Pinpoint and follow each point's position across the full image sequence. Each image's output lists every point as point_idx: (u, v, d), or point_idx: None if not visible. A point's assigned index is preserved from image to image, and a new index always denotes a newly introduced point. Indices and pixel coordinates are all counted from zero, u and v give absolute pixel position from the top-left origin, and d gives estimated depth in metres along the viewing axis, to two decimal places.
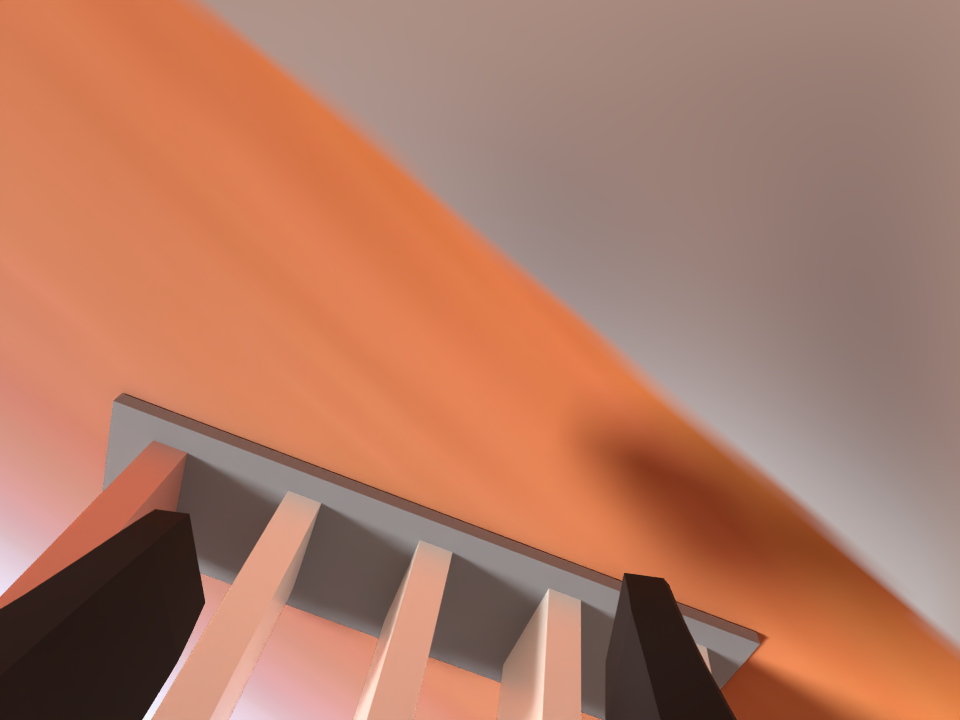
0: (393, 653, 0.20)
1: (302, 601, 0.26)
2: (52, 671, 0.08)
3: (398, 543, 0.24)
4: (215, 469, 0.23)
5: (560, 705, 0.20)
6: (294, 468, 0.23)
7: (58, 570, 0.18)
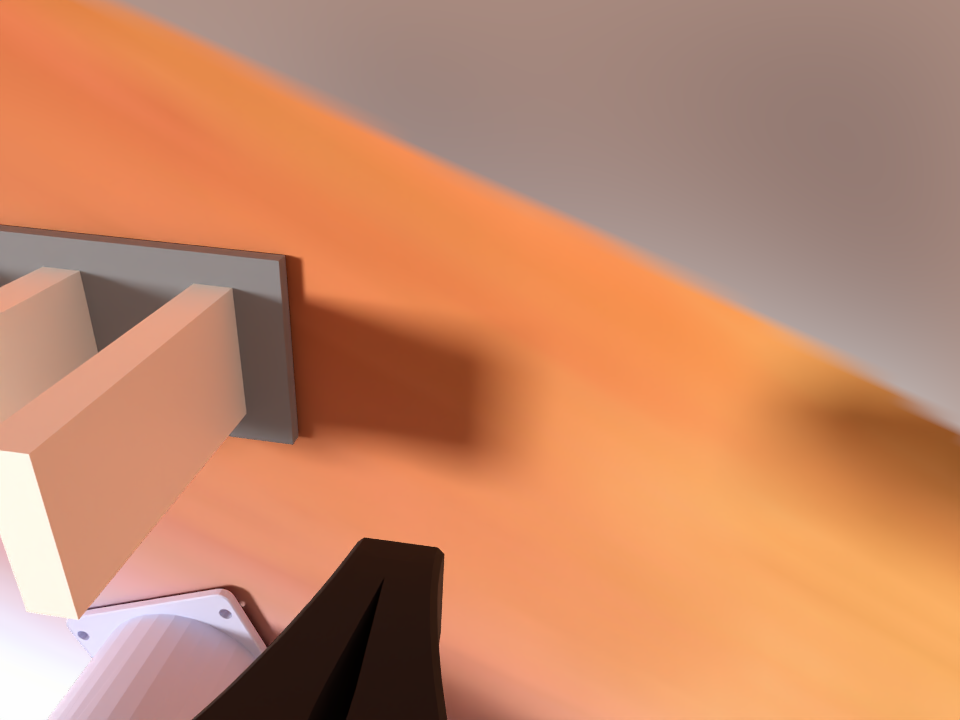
0: None
1: None
2: (327, 715, 0.08)
3: None
4: None
5: None
6: None
7: None
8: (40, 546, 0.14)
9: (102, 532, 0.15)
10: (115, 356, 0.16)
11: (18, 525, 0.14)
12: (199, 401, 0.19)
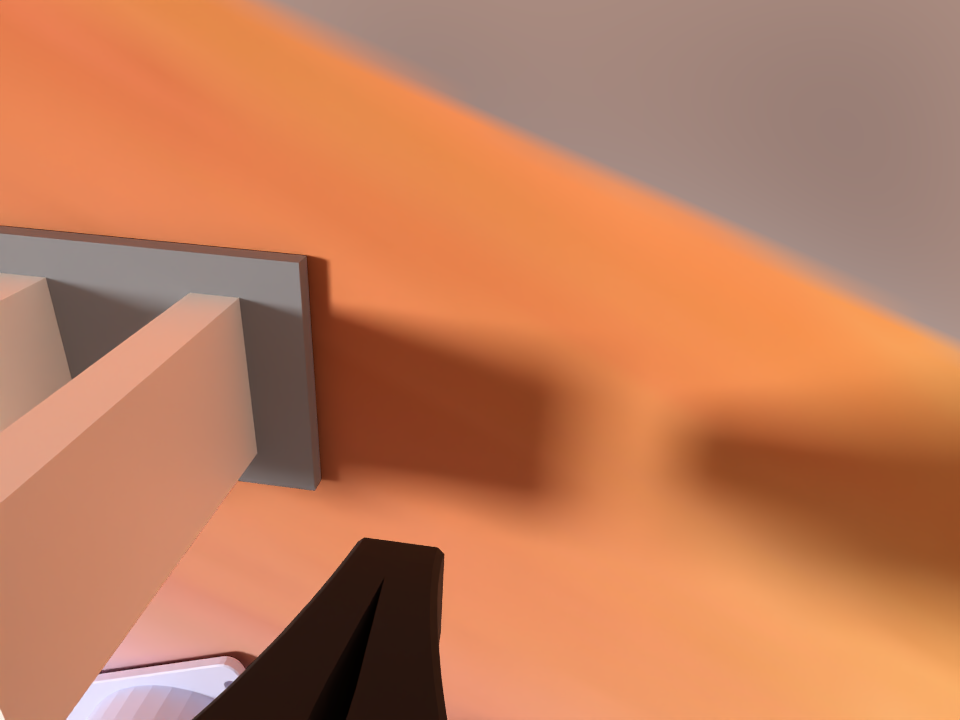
0: None
1: None
2: (327, 715, 0.08)
3: None
4: None
5: None
6: None
7: None
8: None
9: (62, 643, 0.11)
10: (82, 393, 0.12)
11: None
12: (197, 445, 0.15)
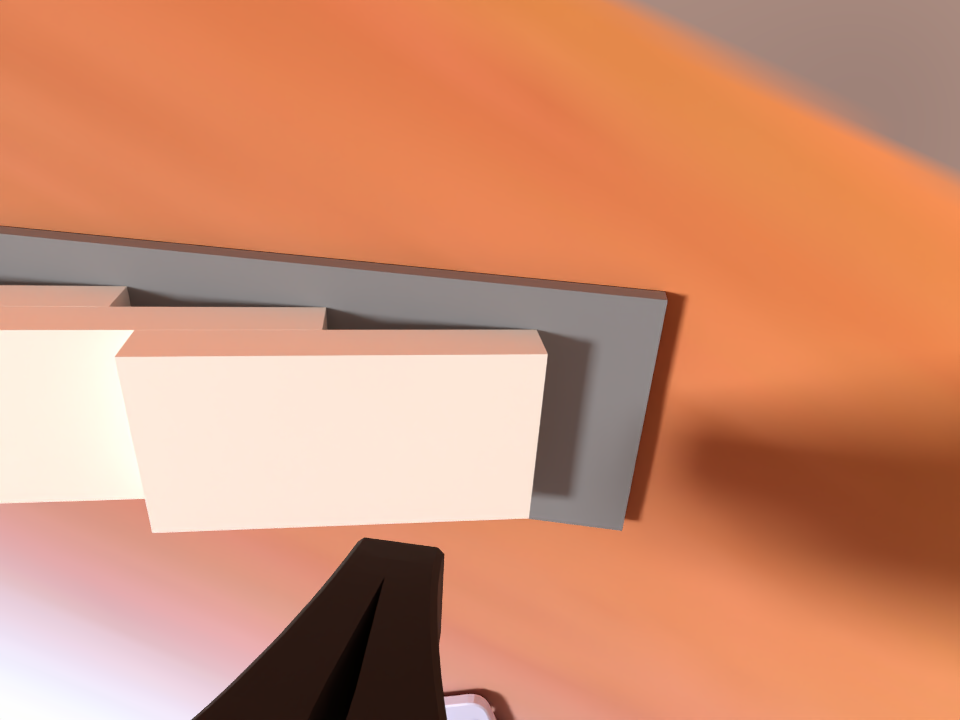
0: None
1: None
2: (327, 715, 0.08)
3: None
4: None
5: (118, 316, 0.15)
6: None
7: None
8: None
9: (204, 482, 0.15)
10: (324, 339, 0.14)
11: None
12: (420, 450, 0.15)
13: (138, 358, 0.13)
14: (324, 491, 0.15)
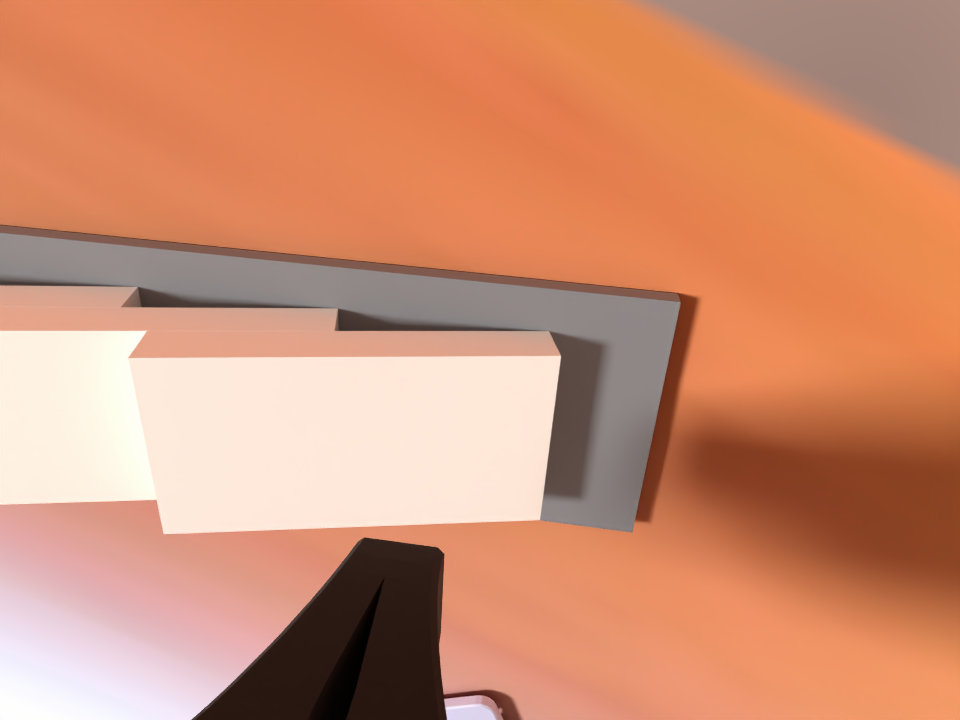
0: None
1: None
2: (328, 715, 0.08)
3: None
4: None
5: (130, 317, 0.15)
6: None
7: None
8: None
9: (216, 483, 0.15)
10: (336, 340, 0.14)
11: None
12: (432, 452, 0.15)
13: (152, 359, 0.13)
14: (336, 492, 0.15)
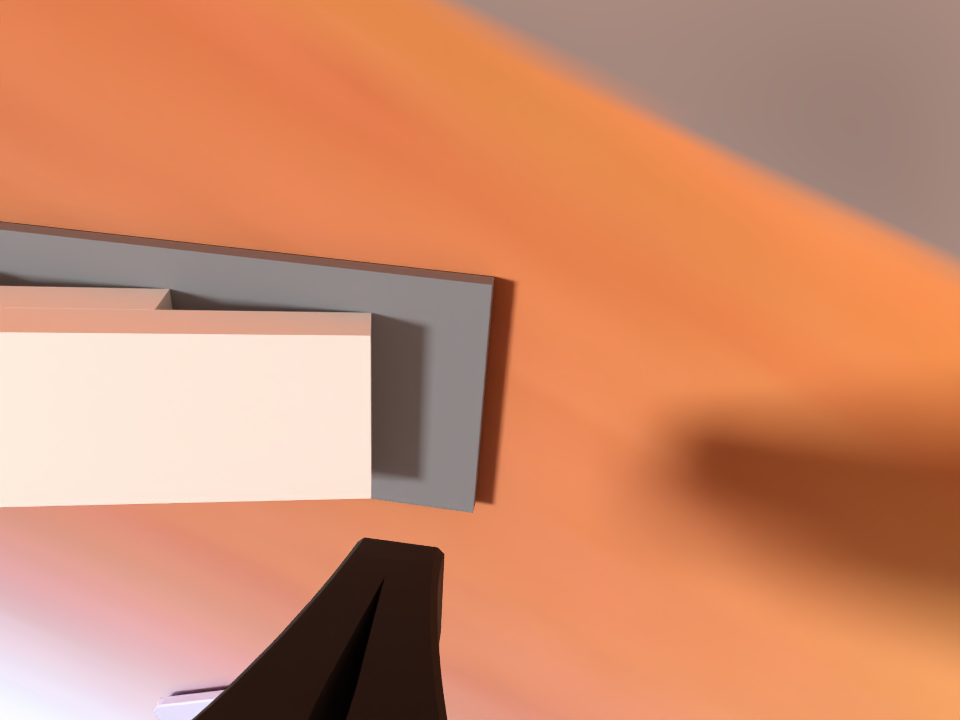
0: None
1: None
2: (327, 715, 0.08)
3: None
4: None
5: None
6: None
7: None
8: None
9: (38, 457, 0.15)
10: (152, 318, 0.15)
11: None
12: (253, 429, 0.15)
13: None
14: (160, 468, 0.16)
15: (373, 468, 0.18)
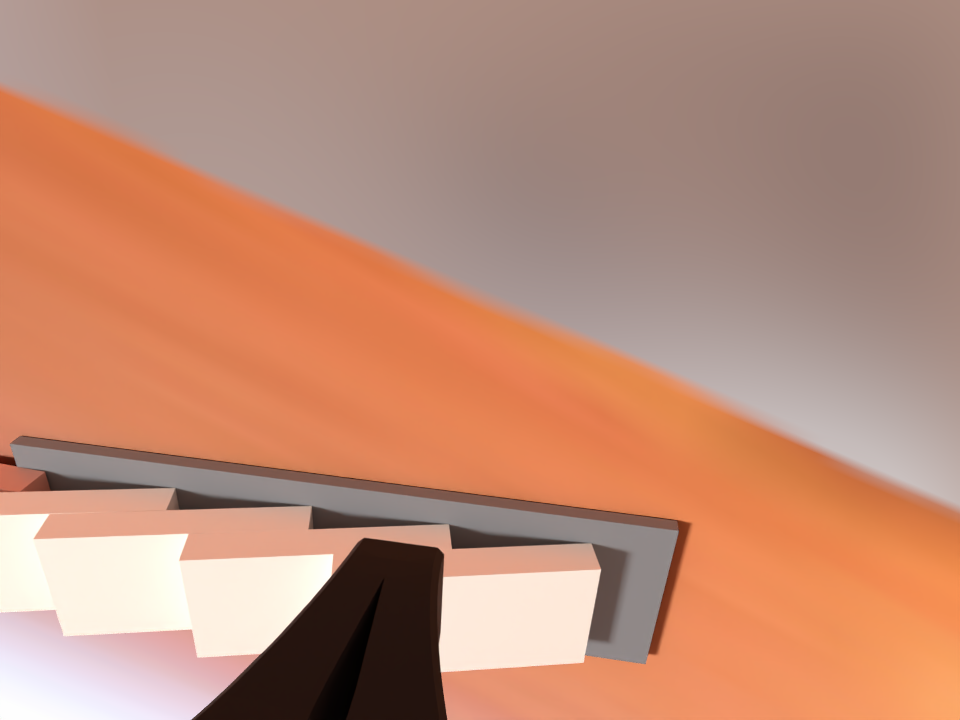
0: (170, 513, 0.23)
1: None
2: (328, 715, 0.08)
3: None
4: (115, 484, 0.25)
5: (318, 540, 0.22)
6: (178, 465, 0.24)
7: None
8: None
9: None
10: (455, 559, 0.22)
11: None
12: (514, 626, 0.23)
13: None
14: (450, 651, 0.23)
15: None
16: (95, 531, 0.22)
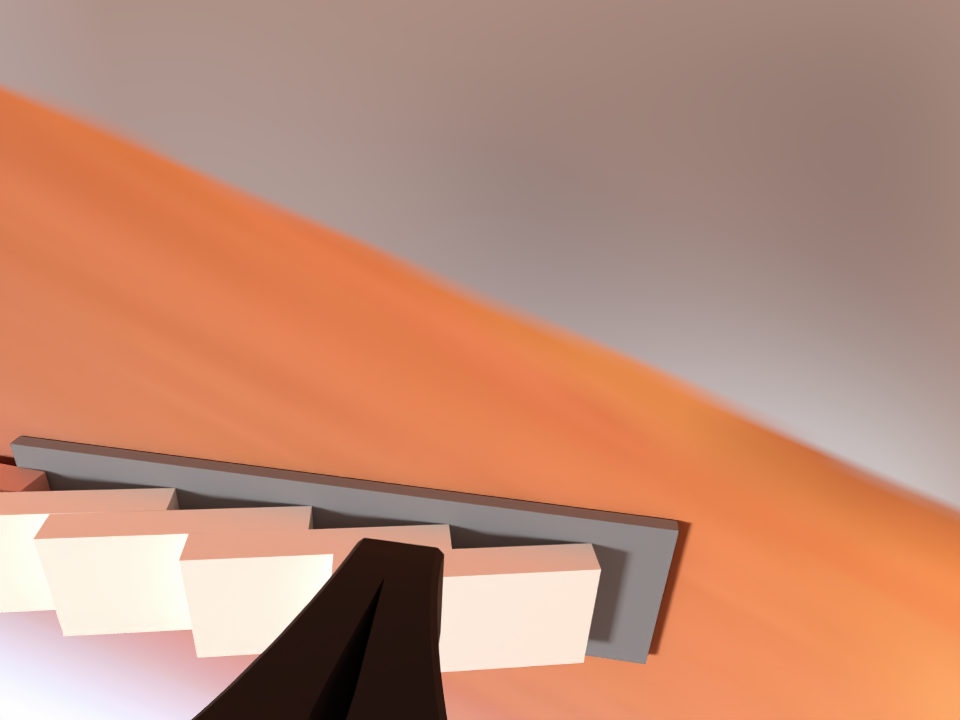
0: (170, 513, 0.23)
1: None
2: (328, 715, 0.08)
3: None
4: (115, 484, 0.25)
5: (318, 540, 0.22)
6: (178, 465, 0.24)
7: None
8: None
9: None
10: (455, 559, 0.22)
11: None
12: (514, 626, 0.23)
13: None
14: (450, 651, 0.23)
15: None
16: (95, 531, 0.22)
